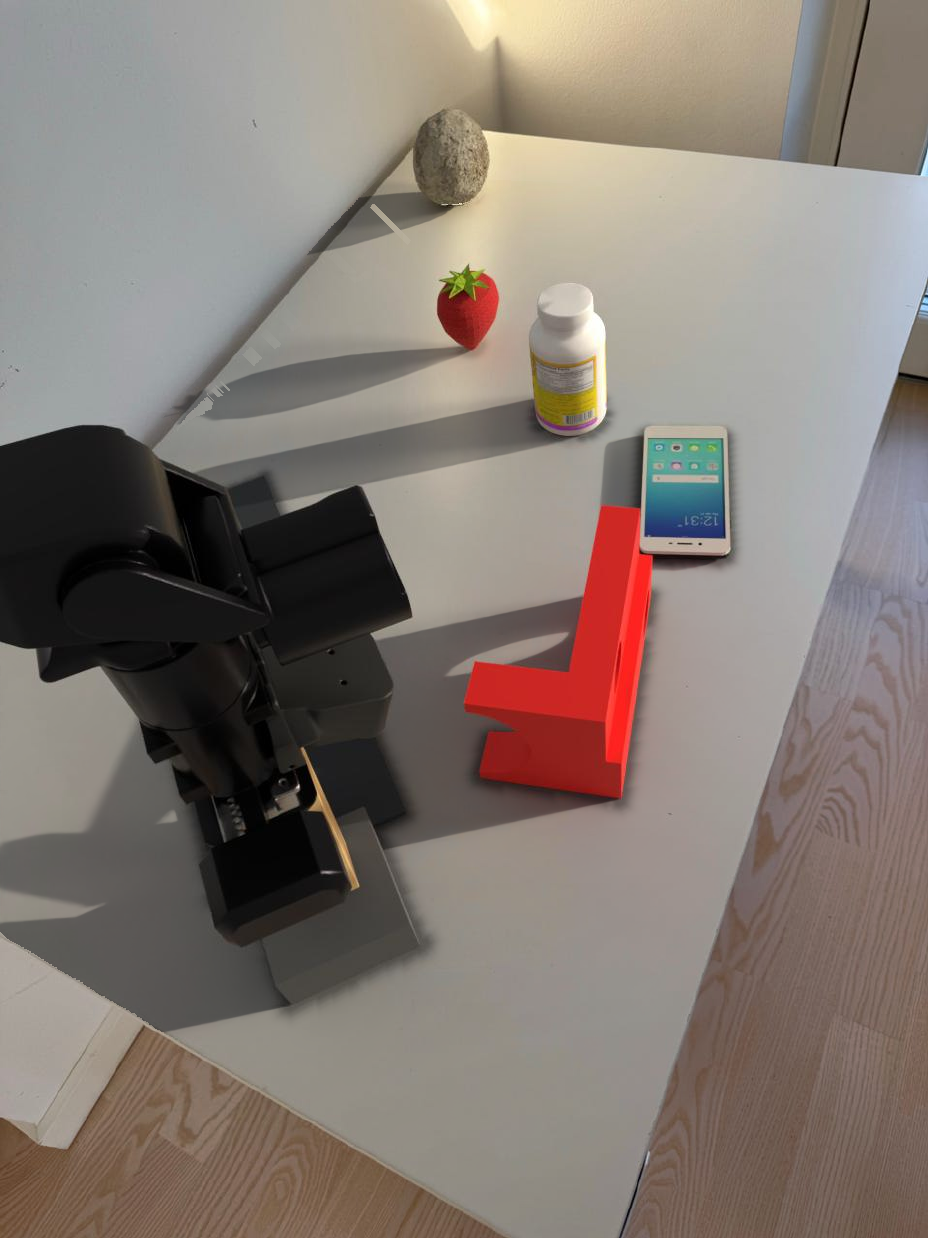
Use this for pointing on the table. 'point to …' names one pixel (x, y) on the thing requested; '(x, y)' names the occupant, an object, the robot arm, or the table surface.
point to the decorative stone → (450, 157)
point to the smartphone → (685, 493)
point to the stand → (345, 924)
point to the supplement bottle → (568, 361)
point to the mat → (343, 767)
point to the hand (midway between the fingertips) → (281, 824)
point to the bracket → (576, 680)
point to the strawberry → (467, 306)
